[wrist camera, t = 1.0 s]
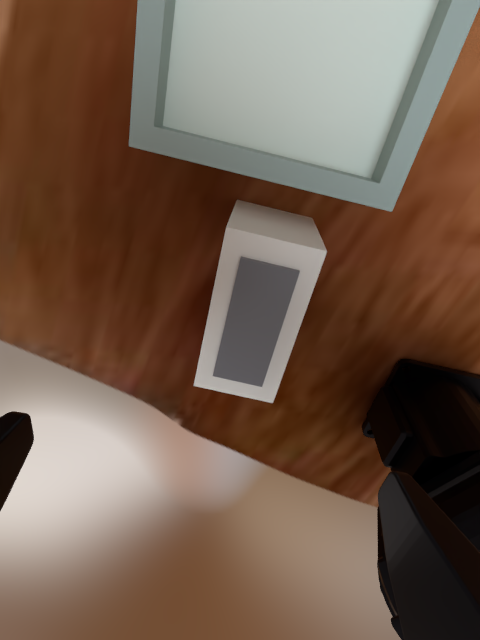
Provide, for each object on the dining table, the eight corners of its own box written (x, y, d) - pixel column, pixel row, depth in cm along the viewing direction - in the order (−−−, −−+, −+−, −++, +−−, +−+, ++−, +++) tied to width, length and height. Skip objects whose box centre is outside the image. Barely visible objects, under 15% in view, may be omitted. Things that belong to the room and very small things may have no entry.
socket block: (312, 217, 19) (327, 253, 14) (271, 342, 23) (272, 406, 18) (237, 198, 19) (225, 228, 14) (209, 328, 22) (192, 388, 17)
